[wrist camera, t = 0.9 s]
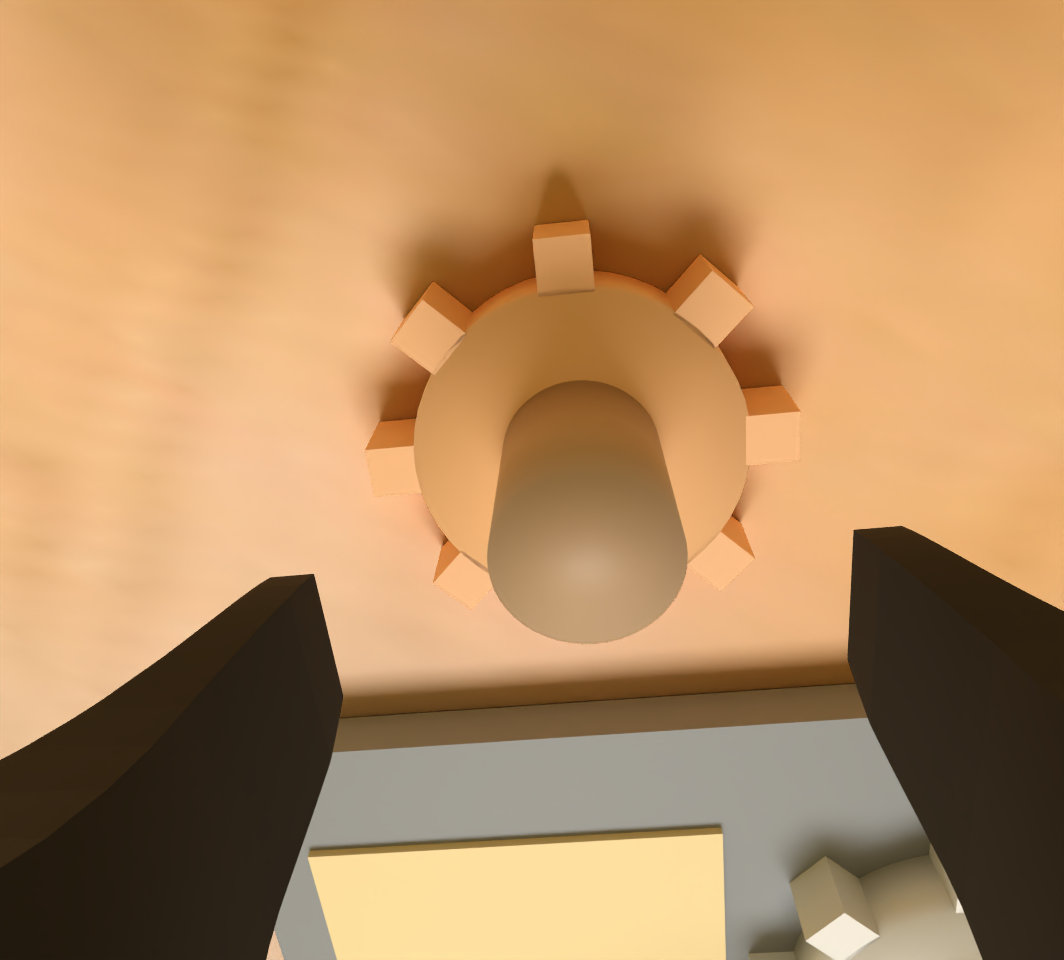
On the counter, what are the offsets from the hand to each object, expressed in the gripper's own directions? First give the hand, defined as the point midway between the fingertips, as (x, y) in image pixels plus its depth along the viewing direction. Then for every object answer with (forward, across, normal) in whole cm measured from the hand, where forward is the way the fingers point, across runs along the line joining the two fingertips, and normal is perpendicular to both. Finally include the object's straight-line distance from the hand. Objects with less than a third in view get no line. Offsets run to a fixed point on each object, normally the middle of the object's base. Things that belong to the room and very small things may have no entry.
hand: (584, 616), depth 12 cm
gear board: (+7, -2, +14) cm, 16 cm away
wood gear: (+7, 0, 0) cm, 7 cm away
